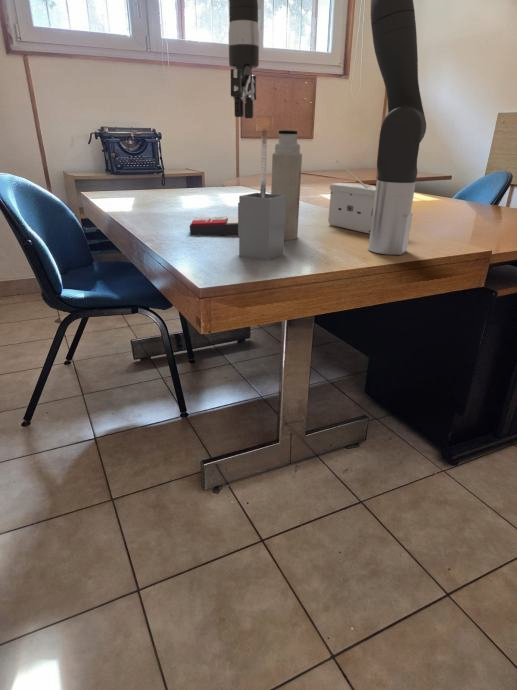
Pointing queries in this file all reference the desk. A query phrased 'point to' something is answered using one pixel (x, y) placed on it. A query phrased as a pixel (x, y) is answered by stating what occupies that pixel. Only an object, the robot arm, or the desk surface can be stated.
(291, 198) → the thermos bottle
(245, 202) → the grey hexagonal pencil cup
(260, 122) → the plunger
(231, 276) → the desk surface
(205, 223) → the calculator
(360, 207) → the stereo radio cassette player
